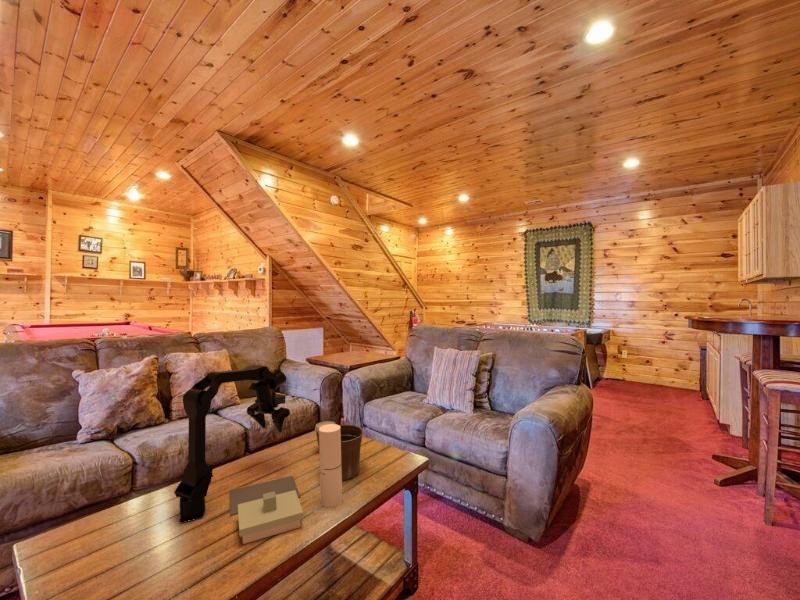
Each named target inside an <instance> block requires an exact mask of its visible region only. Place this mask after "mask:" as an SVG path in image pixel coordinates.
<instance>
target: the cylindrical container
mask: <svg viewBox="0 0 800 600" xmlns="http://www.w3.org/2000/svg"><path fill="white" fill-rule="evenodd" d="M339 425H340V424H327V425H323V426H321V427H320V428H319V447H318V453H319V478H320V479H319V480H320V481H319V485H320V490H319V491H320V505H321V506H322V507H326V508H335V507H338V506H339V505H340V504H341V503H342V502H343V481H342V469H341V429H340V426H339Z"/></svg>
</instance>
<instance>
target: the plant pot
mask: <svg viewBox="0 0 800 600" xmlns="http://www.w3.org/2000/svg"><path fill="white" fill-rule="evenodd" d="M338 425H339V426H340V429H341V469H342V482H343V481H344V482H345V481H349V479H353V478H355V477H357V476H358V475H359V472H360V460H361V459H360V457H361V445H362V442H363V435H364V430H363V428H362V427H360V426H358V425H354V424H338Z"/></svg>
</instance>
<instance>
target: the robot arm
mask: <svg viewBox="0 0 800 600" xmlns="http://www.w3.org/2000/svg"><path fill="white" fill-rule="evenodd" d="M241 381H256V382H251V385H250V386H249V388H248V390H250V391H254V394H255V397H256V399H254V403H253V404H251V405H249V406H248V407H247V409H246V414H247V415H248V416H249V417H251V418H252V419H253V420H254V421H255V422H256V423H257V424H258V425H259V426H260V427H261V428H262V429H263V430H264V429H266V427H267V423H266V418H265V415H271V420H272V424H273V425H274V427H275V429H276V430H277V432H278V433H279V434H281V433H282V432H283V427H284V422H285V419H286V418H288V417H289V416H290V415H291V410H290V409H289V408H286V407H282V406H280V407H279V405H282V404H284V405H285V404H286V399H287V398H286V397H287V396H286V394H280V393H279V394H278V393H276V392H275V391H273V390H276V389H278V388H279V387H280V386H282V385H283V384H285V383H287V375H286V374H285V373H284V372H283V371H282V369H281V368H276V369H274V370H272V371H270V369H269V367H268V366H266V365H258V364H253V365H252V364H251V365H248V366H246V367H245V368H241V369H233V370H223V371H210V372H208V373H206V375H205V376H204V377H203V378H202V379H201V380H199V381H198V382H195V384H194V385H193V386H191V388H190V389H188V390H186V392H185V393H184V394H183V395H182V403H183V410H184V412H185V413H186V414H185V415H186V416H187V418H188V450H187V451H188V454H187V455H188V456H187V457H188V461H187V464H186V466H185V467H184V469H183V473H182V478H181V480H180V483H179V484H178V485H177V487H175V490H174V491H173V493H174V495H175V496H176V498H179V514H180V515H179V522H184V521H188V520H192V521H194V520H193V519H195V520H200V519H203V518H204V514H205V512H206V497H207V495H208V491H209V487H210V485H211V482H212V478H214V475H213V468H214V466H213V464H212V463H208V462H207V460H206V450H207V449H206V447H207V446H206V439H207V438H206V434H207V431H206V429H207V427H206V425H207V424H206V423H207V422H206V421H207V419H206V418H207V415H208V413H209V411H210V410H211V407H212V402H213V401H212V400H213V399H214V398H215V397H216V395H217V394H218V392H219V389H220V387H221V385H222V384H225V383H234V382H241ZM278 407H279V408H278ZM188 522H189V521H188ZM184 523H185V522H184Z"/></svg>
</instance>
